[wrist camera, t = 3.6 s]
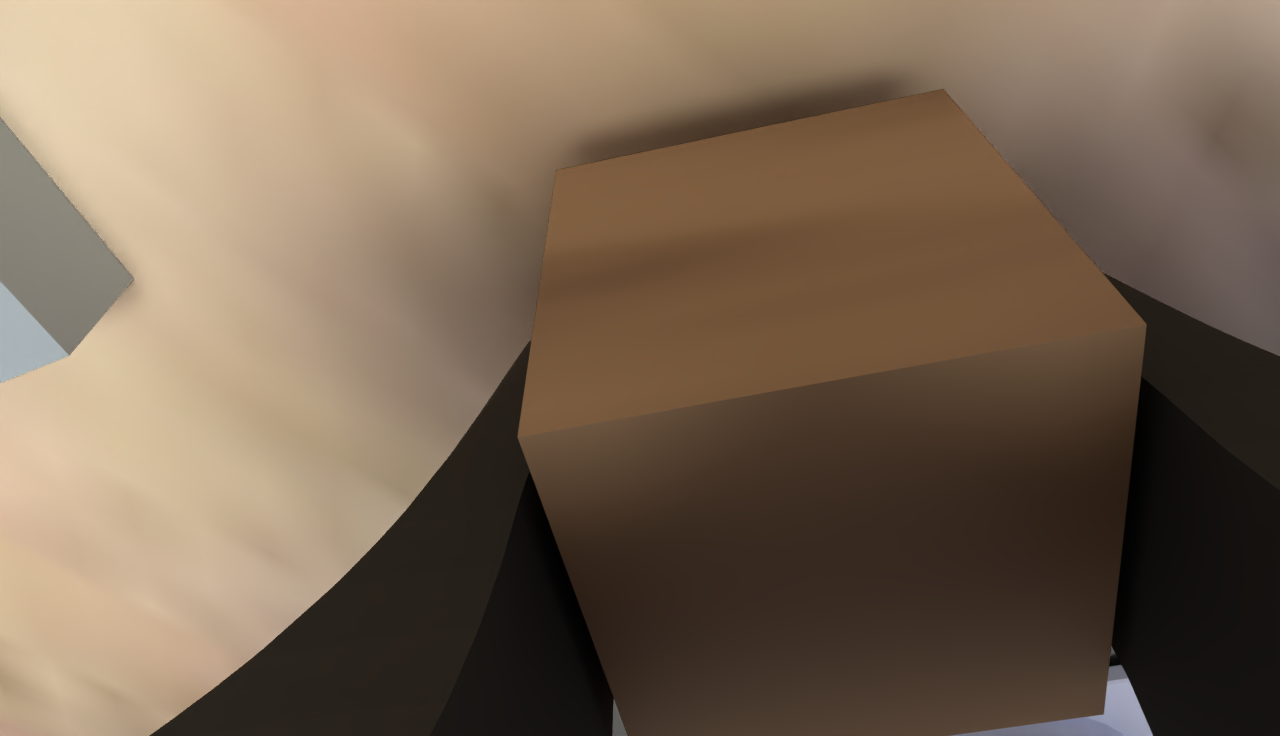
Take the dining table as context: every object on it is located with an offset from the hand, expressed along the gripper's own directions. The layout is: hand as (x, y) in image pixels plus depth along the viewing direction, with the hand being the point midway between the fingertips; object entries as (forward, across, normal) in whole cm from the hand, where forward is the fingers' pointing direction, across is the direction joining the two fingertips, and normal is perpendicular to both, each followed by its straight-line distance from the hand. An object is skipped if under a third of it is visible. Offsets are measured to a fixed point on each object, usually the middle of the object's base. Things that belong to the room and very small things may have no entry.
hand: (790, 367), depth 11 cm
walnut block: (+2, 0, 0) cm, 2 cm away
